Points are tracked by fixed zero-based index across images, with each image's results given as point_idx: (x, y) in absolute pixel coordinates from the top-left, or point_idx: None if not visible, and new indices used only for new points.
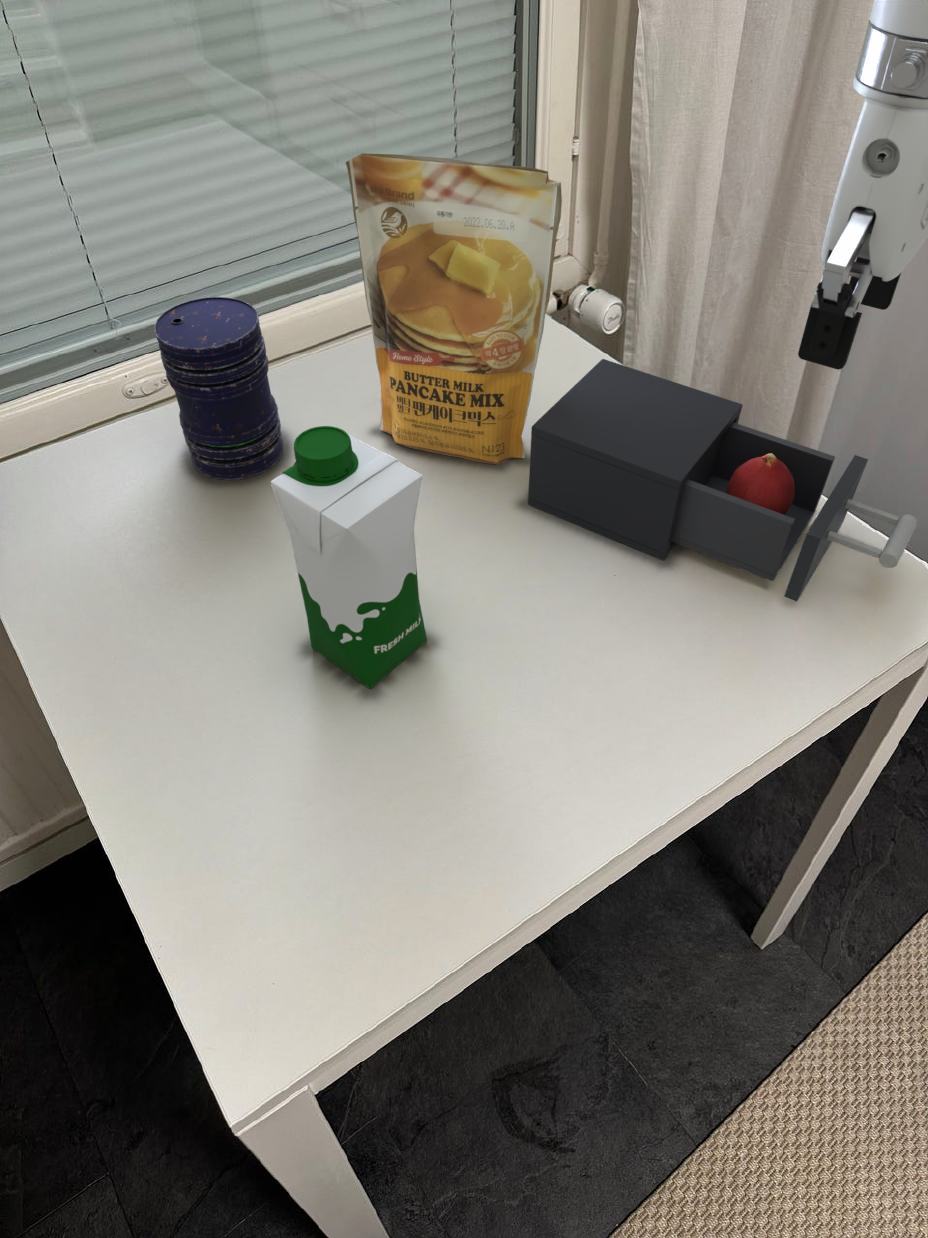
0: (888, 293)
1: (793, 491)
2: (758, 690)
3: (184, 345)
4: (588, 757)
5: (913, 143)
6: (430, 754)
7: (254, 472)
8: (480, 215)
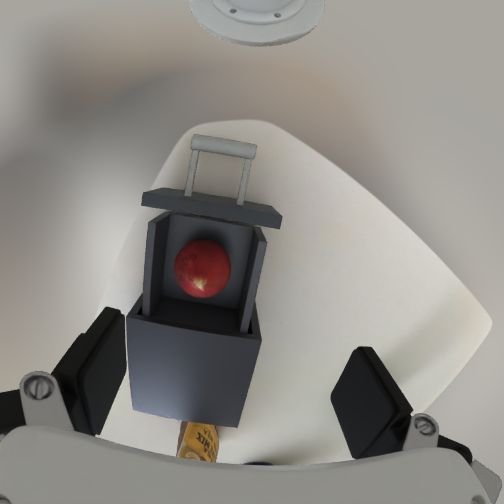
0: (112, 333)
1: (202, 245)
2: (350, 216)
3: None
4: (408, 289)
5: None
6: (412, 346)
7: (268, 464)
8: None
